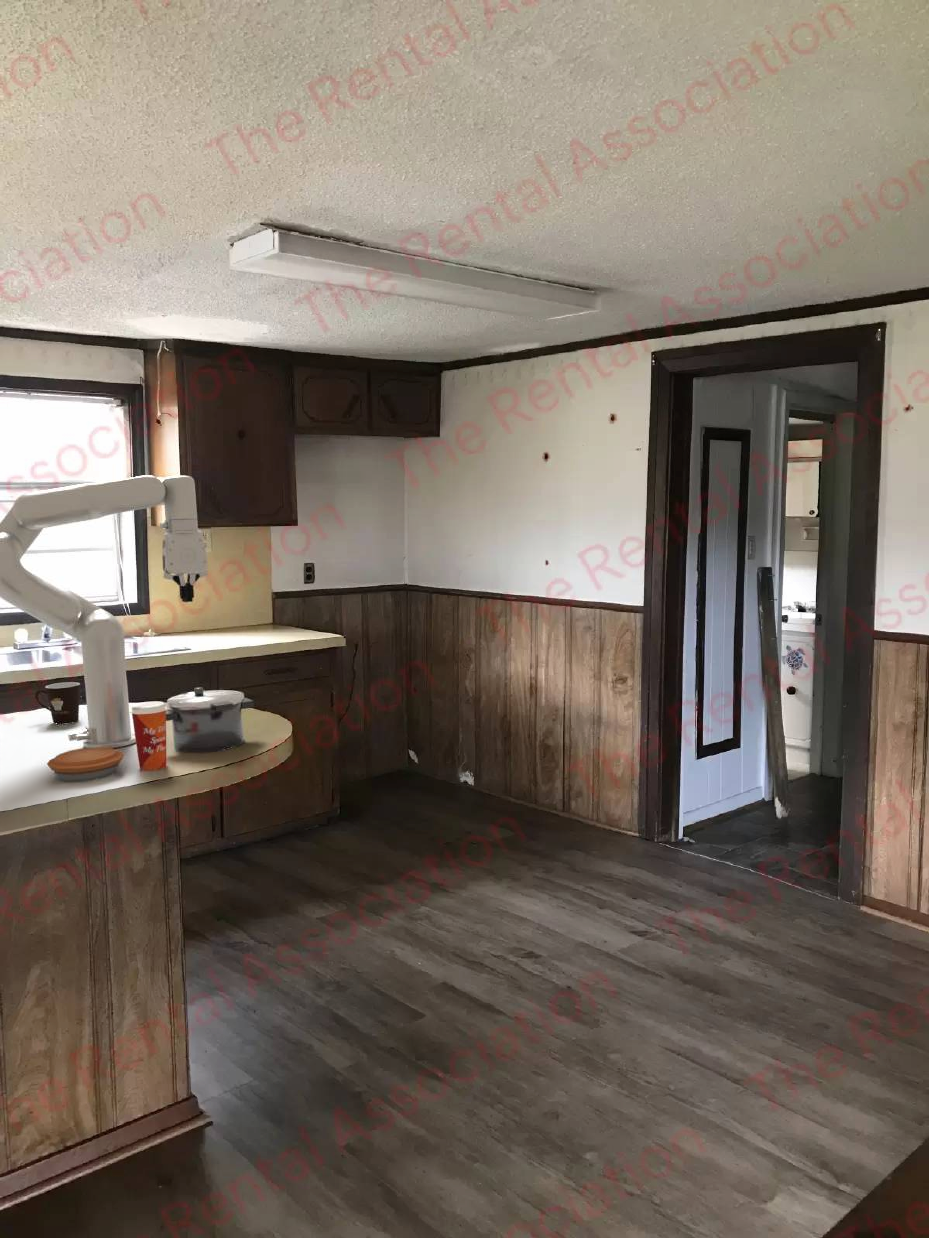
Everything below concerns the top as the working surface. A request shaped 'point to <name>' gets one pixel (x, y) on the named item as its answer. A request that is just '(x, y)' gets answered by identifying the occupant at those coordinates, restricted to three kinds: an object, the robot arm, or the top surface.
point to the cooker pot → (207, 728)
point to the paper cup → (150, 734)
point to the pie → (85, 764)
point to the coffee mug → (62, 701)
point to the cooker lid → (206, 700)
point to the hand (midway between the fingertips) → (187, 601)
